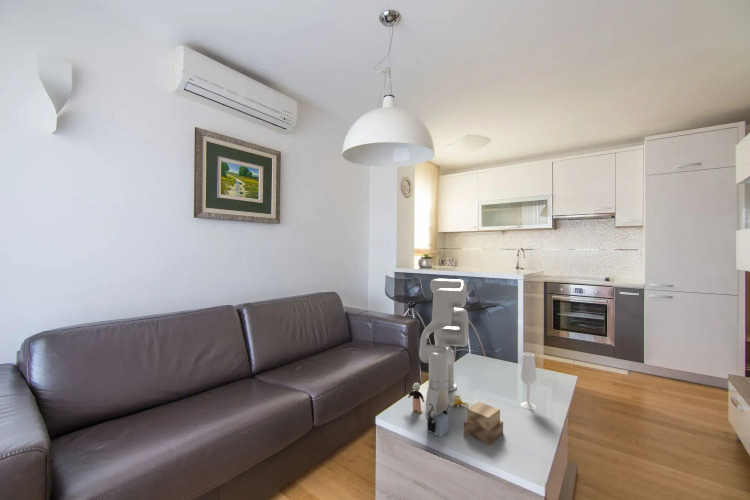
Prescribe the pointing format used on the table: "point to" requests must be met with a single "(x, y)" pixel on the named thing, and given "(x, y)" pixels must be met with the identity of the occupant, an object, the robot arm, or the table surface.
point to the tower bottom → (483, 432)
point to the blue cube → (440, 424)
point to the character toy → (458, 401)
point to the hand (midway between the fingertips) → (437, 426)
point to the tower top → (483, 416)
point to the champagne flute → (528, 376)
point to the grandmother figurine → (416, 398)
